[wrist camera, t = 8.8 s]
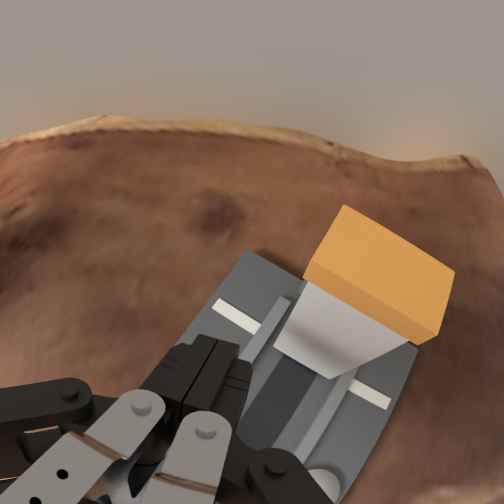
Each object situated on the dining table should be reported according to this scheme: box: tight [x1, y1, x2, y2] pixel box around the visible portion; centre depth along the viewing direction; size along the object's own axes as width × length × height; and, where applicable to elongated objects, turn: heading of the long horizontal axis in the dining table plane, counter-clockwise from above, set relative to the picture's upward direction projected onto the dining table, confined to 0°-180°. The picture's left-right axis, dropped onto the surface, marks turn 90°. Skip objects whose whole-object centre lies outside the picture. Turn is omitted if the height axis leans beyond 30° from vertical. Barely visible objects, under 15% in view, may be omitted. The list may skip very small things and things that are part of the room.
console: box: [139, 249, 418, 504], centre depth 16 cm, size 20×14×3 cm
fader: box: [273, 205, 455, 379], centre depth 14 cm, size 2×4×11 cm, turn 57°
